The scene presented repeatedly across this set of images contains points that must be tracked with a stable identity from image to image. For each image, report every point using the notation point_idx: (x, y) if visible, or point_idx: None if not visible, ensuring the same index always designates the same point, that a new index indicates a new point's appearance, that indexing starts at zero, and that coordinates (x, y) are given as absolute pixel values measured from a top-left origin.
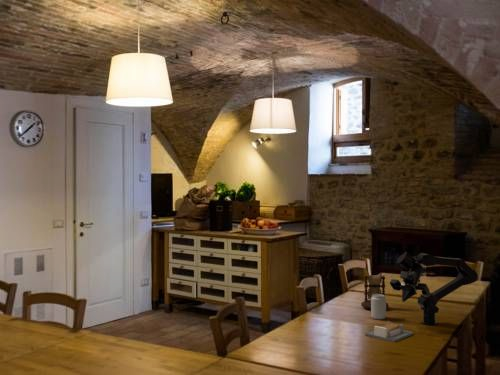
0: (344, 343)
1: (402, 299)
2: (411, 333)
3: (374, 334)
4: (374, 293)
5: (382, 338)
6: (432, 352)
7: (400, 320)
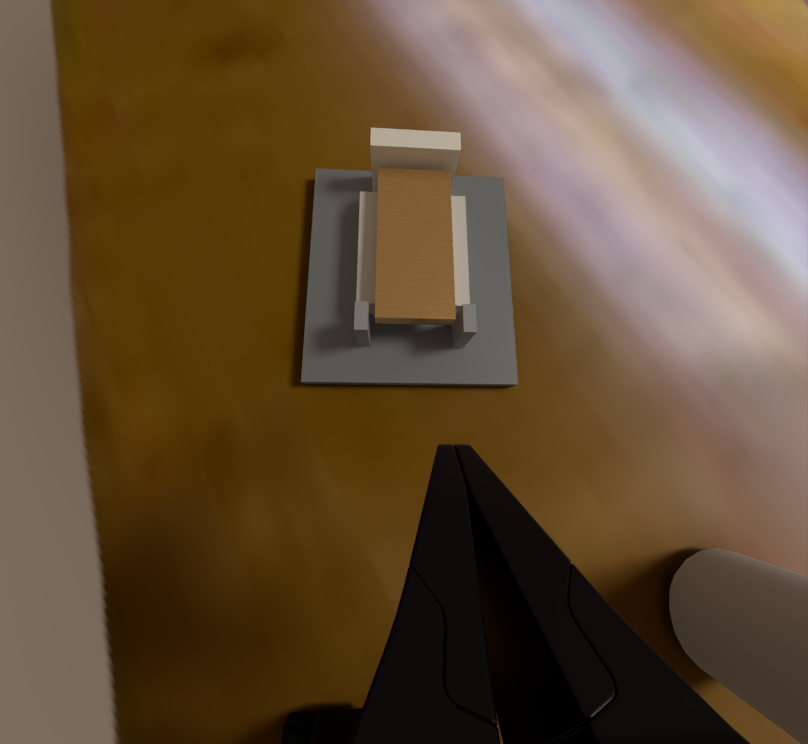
0: (486, 39)
1: (467, 453)
2: (303, 358)
3: None
4: None
5: None
6: (82, 152)
7: None
